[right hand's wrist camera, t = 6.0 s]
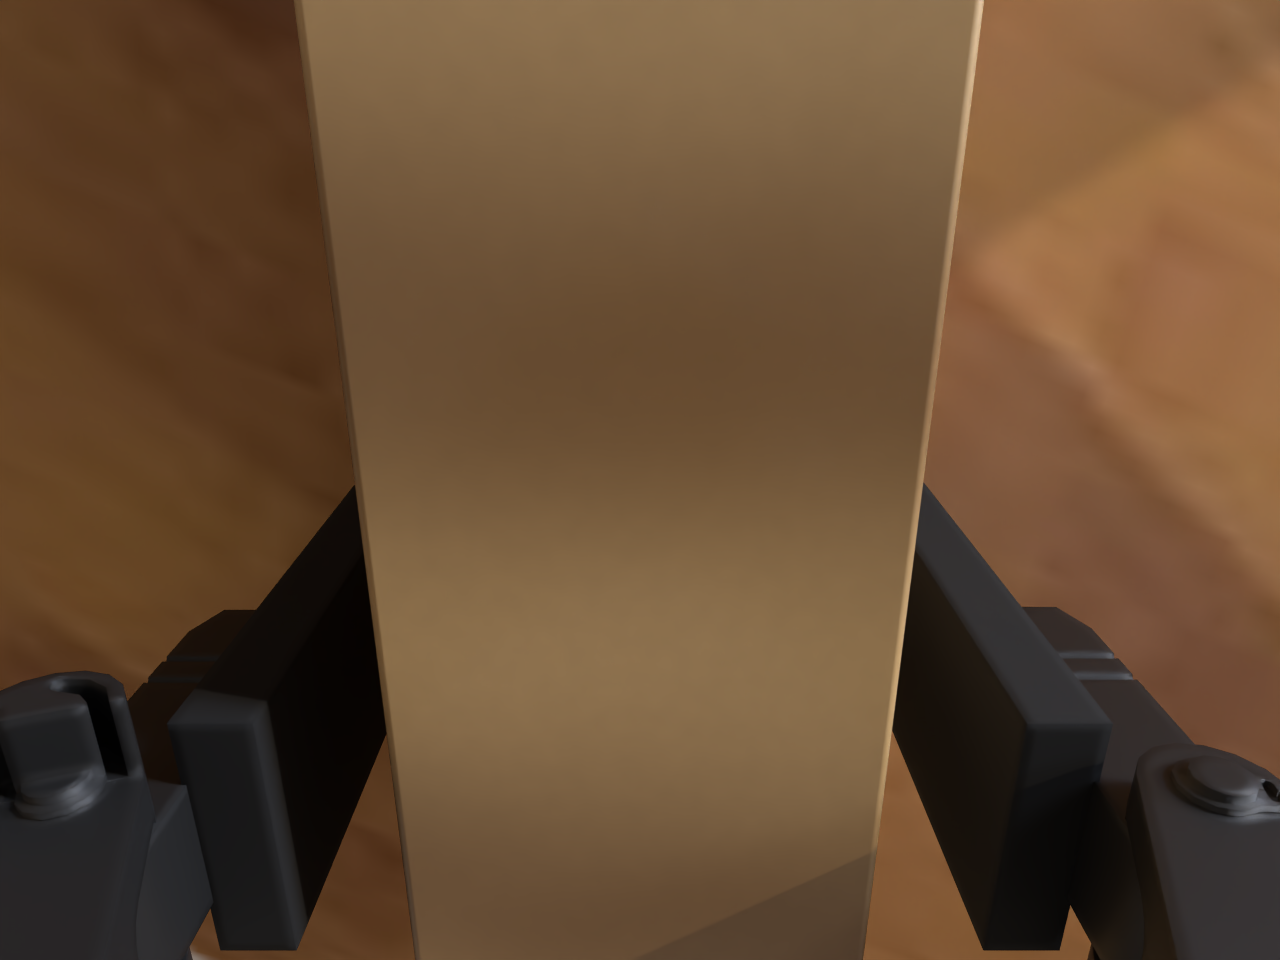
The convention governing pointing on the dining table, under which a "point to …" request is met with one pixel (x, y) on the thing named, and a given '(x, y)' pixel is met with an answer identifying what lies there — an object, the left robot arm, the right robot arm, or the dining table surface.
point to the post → (638, 445)
